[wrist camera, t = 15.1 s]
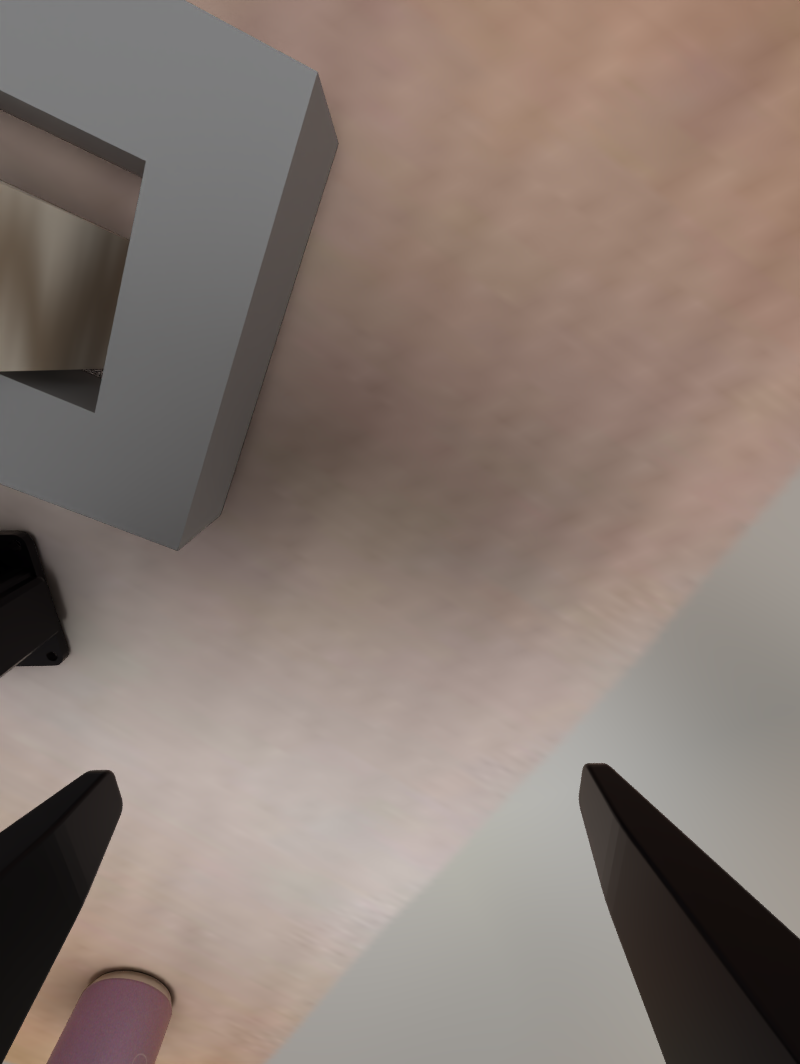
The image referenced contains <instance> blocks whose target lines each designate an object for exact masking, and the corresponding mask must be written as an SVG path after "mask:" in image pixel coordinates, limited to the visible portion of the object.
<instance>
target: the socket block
mask: <svg viewBox="0 0 800 1064" xmlns="http://www.w3.org/2000/svg"><path fill="white" fill-rule="evenodd" d="M0 109H1V110H3V111H5V112H7V113H9V114H11V115H13V116H15V117H17V118H20V119H22V120H24V121H26V122H28V123H30V124H32V125H34V126H36V127H38V128H40V129H42V130H44V131H47V132H49V133H51V134H53V135H55V136H57V137H59V138H61V139H63V140H65V141H67V142H69V143H71V144H74V145H76V146H78V147H80V148H82V149H84V150H86V151H88V152H90V153H92V154H94V155H96V156H98V157H101V158H103V159H105V160H107V161H109V162H111V163H113V164H115V165H117V166H119V167H121V168H123V169H126V170H128V171H130V172H132V173H134V174H136V175H138V176H140V177H142V183H141V188H140V193H139V198H138V203H137V208H136V213H135V218H134V223H133V227H132V232H131V237H130V242H129V247H128V252H127V257H126V262H125V267H124V272H123V277H122V282H121V287H120V292H119V296H118V301H117V306H116V311H115V316H114V321H113V326H112V331H111V336H110V341H109V346H108V351H107V356H106V361H105V365H104V370H103V375H102V379H101V378H99V377H96V376H94V375H92V374H89V373H87V372H85V371H82V370H80V369H78V370H38V371H0V484H2V485H5V486H7V487H10V488H12V489H15V490H18V491H20V492H23V493H26V494H28V495H31V496H34V497H36V498H39V499H42V500H44V501H47V502H49V503H52V504H55V505H57V506H60V507H63V508H65V509H68V510H71V511H73V512H76V513H79V514H81V515H84V516H86V517H89V518H92V519H94V520H97V521H100V522H102V523H105V524H108V525H110V526H113V527H116V528H118V529H121V530H124V531H126V532H129V533H131V534H134V535H137V536H139V537H142V538H145V539H147V540H150V541H153V542H155V543H158V544H161V545H163V546H166V547H168V548H171V549H174V550H176V551H178V550H180V549H181V548H182V547H183V546H184V545H186V544H187V543H188V542H189V541H190V540H191V539H193V538H194V537H195V536H196V535H197V534H199V533H200V532H201V531H202V530H203V529H205V528H206V527H207V526H208V525H209V524H210V523H212V522H213V521H214V520H215V519H216V518H218V517H219V516H220V515H221V512H222V509H223V506H224V503H225V500H226V496H227V493H228V490H229V487H230V484H231V481H232V477H233V474H234V471H235V468H236V465H237V462H238V459H239V455H240V452H241V449H242V446H243V443H244V440H245V436H246V433H247V430H248V427H249V424H250V421H251V418H252V414H253V411H254V408H255V405H256V402H257V399H258V395H259V392H260V389H261V386H262V383H263V380H264V377H265V373H266V370H267V367H268V364H269V361H270V358H271V354H272V351H273V348H274V345H275V342H276V339H277V336H278V332H279V329H280V326H281V323H282V320H283V317H284V313H285V310H286V307H287V304H288V301H289V298H290V295H291V291H292V288H293V285H294V282H295V279H296V276H297V272H298V269H299V266H300V263H301V260H302V257H303V254H304V250H305V247H306V244H307V241H308V238H309V235H310V231H311V228H312V225H313V222H314V219H315V216H316V213H317V209H318V206H319V203H320V200H321V197H322V194H323V190H324V187H325V184H326V181H327V178H328V175H329V172H330V168H331V165H332V162H333V159H334V156H335V153H336V149H337V146H338V140H337V136H336V133H335V129H334V126H333V123H332V119H331V116H330V112H329V109H328V106H327V102H326V99H325V95H324V92H323V89H322V85H321V82H320V78H319V75H318V72H317V71H315V70H313V69H311V68H309V67H308V66H306V65H304V64H302V63H300V62H298V61H296V60H295V59H293V58H291V57H289V56H287V55H285V54H283V53H282V52H280V51H278V50H276V49H274V48H272V47H271V46H269V45H267V44H265V43H263V42H261V41H259V40H258V39H256V38H254V37H252V36H250V35H248V34H246V33H245V32H243V31H241V30H239V29H237V28H235V27H233V26H232V25H230V24H228V23H226V22H224V21H222V20H220V19H219V18H217V17H215V16H213V15H211V14H209V13H207V12H206V11H204V10H202V9H200V8H198V7H196V6H194V5H193V4H191V3H189V2H187V1H185V0H0Z"/></svg>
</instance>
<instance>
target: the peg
mask: <svg viewBox="0 0 800 1064" xmlns="http://www.w3.org/2000/svg"><path fill="white" fill-rule="evenodd" d="M129 242H130V240H128V239H126V238H124V237H122V236H120V235H118V234H116V233H113V232H111V231H109V230H107V229H105V228H103V227H101V226H98V225H96V224H94V223H92V222H90V221H88V220H86V219H83V218H81V217H79V216H77V215H75V214H73V213H71V212H68V211H66V210H64V209H62V208H60V207H58V206H56V205H54V204H51V203H49V202H47V201H45V200H43V199H41V198H39V197H36V196H34V195H32V194H30V193H28V192H26V191H24V190H21V189H19V188H17V187H15V186H13V185H11V184H8V183H6V182H4V181H2V180H0V371H38V370H78V369H104V365H105V361H106V356H107V351H108V346H109V341H110V336H111V331H112V326H113V321H114V316H115V311H116V306H117V301H118V296H119V292H120V287H121V282H122V277H123V272H124V267H125V262H126V257H127V252H128V247H129Z"/></svg>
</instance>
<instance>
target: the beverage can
mask: <svg viewBox="0 0 800 1064" xmlns="http://www.w3.org/2000/svg"><path fill="white" fill-rule="evenodd" d="M171 1015H172V1004H171V996H170V993H169V991H168V989H167V988H166V987H165V986H164V985H163V984H162V983H161V982H160V981H158V980H157V979H155V978H153V977H151V976H149V975H146V974H143V973H140V972H135V971H114V972H110V973H107V974H104V975H102V976H100V977H99V978H98V979H96V980H95V981H94V982H93V983H92V984H91V985H90V986H88V987H87V988H86V989H85V990H84V992H83V993H82V995H81V997H80V999H79V1001H78V1002H77V1004H76V1006H75V1008H74V1010H73V1012H72V1014H71V1016H70V1018H69V1020H68V1022H67V1024H66V1026H65V1028H64V1030H63V1032H62V1034H61V1036H60V1038H59V1040H58V1042H57V1044H56V1046H55V1048H54V1050H53V1052H52V1054H51V1056H50V1058H49V1060H48V1062H47V1064H155V1061H156V1058H157V1055H158V1052H159V1050H160V1047H161V1044H162V1041H163V1038H164V1035H165V1033H166V1030H167V1027H168V1024H169V1021H170V1018H171Z"/></svg>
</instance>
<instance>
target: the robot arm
mask: <svg viewBox="0 0 800 1064" xmlns="http://www.w3.org/2000/svg"><path fill="white" fill-rule="evenodd" d="M16 541H18V542H19V543H20V544H21V547H20V546H19V545H18V544H17V543H16ZM53 652H54V653H55V654H56V655H55V654H54V653H53ZM68 655H69V651H68V648H67V645H66V642H65V638H64V635H63V632H62V629H61V626H60V623H59V620H58V616H57V613H56V610H55V607H54V604H53V601H52V598H51V594H50V591H49V588H48V585H47V582H46V579H45V575H44V572H43V569H42V566H41V563H40V560H39V557H38V553H37V550H36V547H35V544H34V541H33V539H32V538H31V537H30V536H29V535H28V534H26V533H25V532H20V531H7V532H0V678H1V677H2V676H3V675H5V674H6V673H7V672H8V671H10V670H11V669H12V668H13V667H15V666H52V665H59V664H60V663H62V662H63V661H64V660H65V659H66V658H67V657H68ZM579 804H580V810H581V813H582V817H583V821H584V824H585V828H586V831H587V835H588V839H589V843H590V847H591V850H592V854H593V858H594V861H595V865H596V868H597V872H598V876H599V879H600V883H601V887H602V890H603V894H604V897H605V901H606V903H607V906H608V909H609V912H610V915H611V918H612V920H613V923H614V926H615V928H616V931H617V934H618V936H619V939H620V942H621V944H622V947H623V949H624V952H625V955H626V958H627V960H628V963H629V966H630V968H631V971H632V974H633V976H634V979H635V982H636V984H637V987H638V989H639V992H640V995H641V998H642V1000H643V1003H644V1006H645V1008H646V1011H647V1013H648V1016H649V1019H650V1021H651V1024H652V1027H653V1029H654V1032H655V1035H656V1038H657V1040H658V1043H659V1046H660V1048H661V1051H662V1054H663V1056H664V1059H665V1062H666V1064H800V939H799V938H798V937H797V936H796V935H795V934H794V933H793V932H791V931H790V930H789V929H788V928H787V927H786V926H785V925H784V924H783V923H782V922H781V921H779V920H778V919H777V918H776V917H775V916H774V915H773V914H772V913H771V912H770V911H769V910H767V909H766V908H765V907H764V906H763V905H762V904H761V903H760V902H759V901H758V900H756V899H755V898H754V897H753V896H752V895H751V894H750V893H749V892H748V891H747V890H745V889H744V888H743V887H742V886H741V885H740V884H739V883H738V882H737V881H736V880H734V879H733V878H732V877H731V876H730V875H729V874H728V873H727V872H726V871H725V870H723V869H722V868H721V867H720V866H719V865H718V864H717V863H716V862H714V860H712V859H711V858H710V857H709V856H708V855H707V854H706V853H705V852H704V851H702V850H701V849H700V848H699V847H698V846H697V845H696V844H695V843H694V842H693V841H692V840H691V839H689V838H688V837H687V836H686V835H685V834H684V833H683V832H682V831H681V830H679V829H678V828H677V827H676V826H675V825H674V824H673V823H672V822H671V821H670V820H668V819H667V818H666V817H665V816H664V815H663V814H662V813H661V812H659V810H658V809H656V808H655V807H654V806H653V805H652V804H651V803H650V802H649V801H648V800H647V799H645V798H644V797H643V796H642V795H641V794H640V793H639V792H638V791H637V790H636V789H634V788H633V787H632V786H631V785H630V784H629V783H628V782H627V781H626V780H625V779H623V778H622V777H621V776H620V775H619V774H618V773H617V772H616V771H615V770H614V769H612V768H611V767H610V766H609V765H607V764H605V763H588V764H585V765H584V767H583V770H582V777H581V784H580V791H579ZM122 806H123V803H122V797H121V794H120V791H119V788H118V785H117V781H116V778H115V775H114V773H113V772H112V771H110V770H92V771H88V772H86V773H84V774H83V775H81V776H80V777H79V778H77V779H76V780H74V781H73V782H71V783H70V784H69V785H67V786H66V787H64V788H63V789H61V790H60V791H59V792H57V793H56V794H54V795H53V796H52V797H50V798H49V799H47V800H46V801H44V802H43V803H42V804H40V805H39V806H37V807H36V808H34V809H33V810H32V811H30V812H29V813H27V814H26V815H25V816H23V817H22V818H20V819H19V820H17V821H16V822H15V823H13V824H12V825H10V826H9V827H7V828H6V829H5V830H3V831H2V832H0V1064H2V1063H3V1061H4V1059H5V1057H6V1055H7V1053H8V1051H9V1049H10V1047H11V1045H12V1043H13V1041H14V1039H15V1037H16V1035H17V1033H18V1031H19V1030H20V1028H21V1026H22V1024H23V1022H24V1020H25V1018H26V1016H27V1014H28V1012H29V1010H30V1008H31V1006H32V1004H33V1002H34V1000H35V998H36V996H37V994H38V992H39V991H40V989H41V987H42V985H43V983H44V981H45V979H46V977H47V975H48V973H49V971H50V969H51V967H52V965H53V963H54V961H55V959H56V957H57V955H58V954H59V952H60V950H61V948H62V946H63V944H64V942H65V940H66V938H67V936H68V934H69V932H70V930H71V928H72V926H73V924H74V922H75V920H76V918H77V916H78V914H79V912H80V910H81V908H82V906H83V904H84V902H85V899H86V897H87V895H88V893H89V890H90V888H91V886H92V883H93V881H94V878H95V876H96V874H97V871H98V869H99V866H100V864H101V861H102V859H103V857H104V854H105V852H106V849H107V847H108V844H109V842H110V840H111V837H112V835H113V832H114V830H115V828H116V825H117V823H118V820H119V818H120V815H121V812H122Z"/></svg>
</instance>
